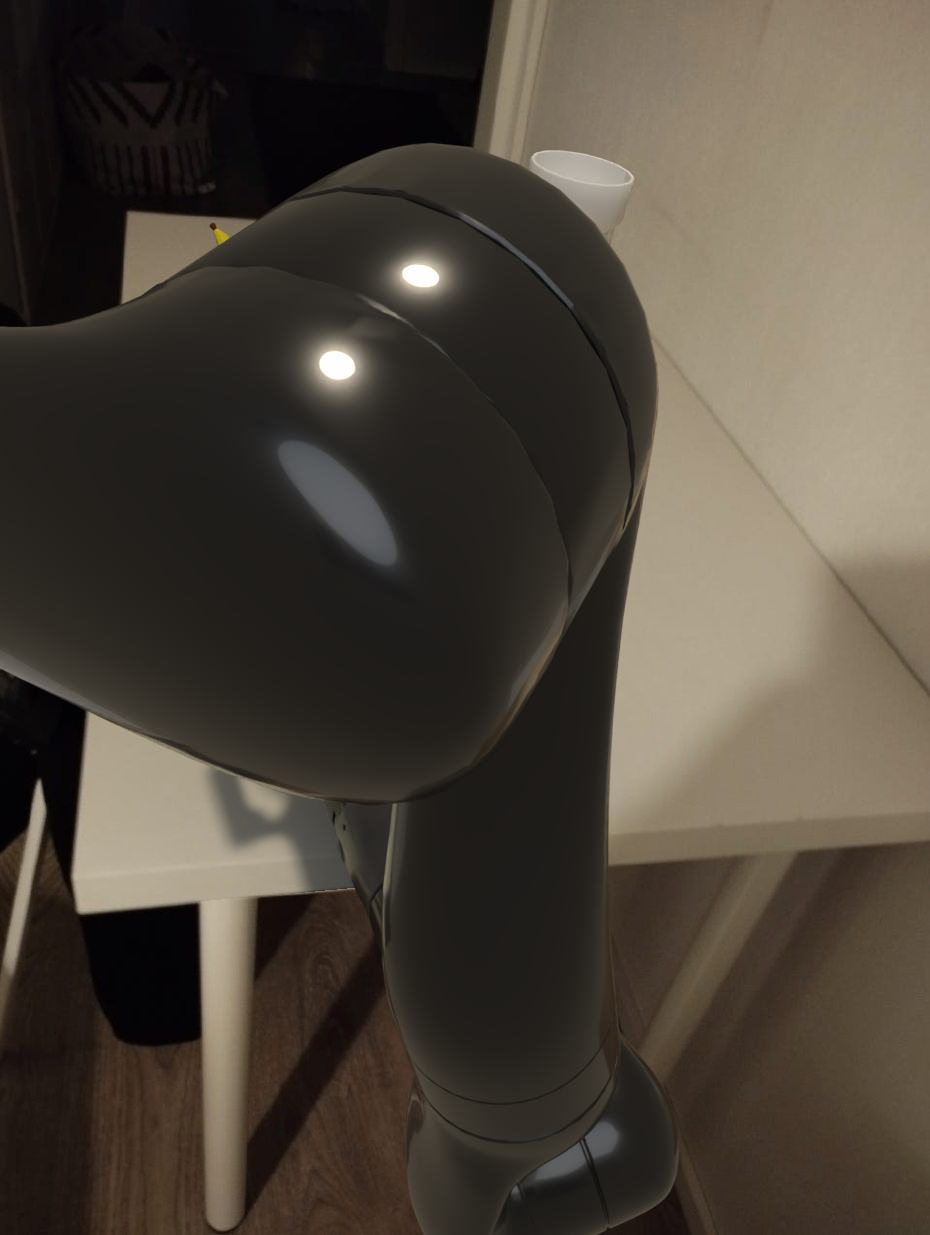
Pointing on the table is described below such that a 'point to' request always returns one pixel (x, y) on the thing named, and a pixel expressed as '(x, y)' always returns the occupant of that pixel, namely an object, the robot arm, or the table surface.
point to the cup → (588, 184)
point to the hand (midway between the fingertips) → (327, 610)
